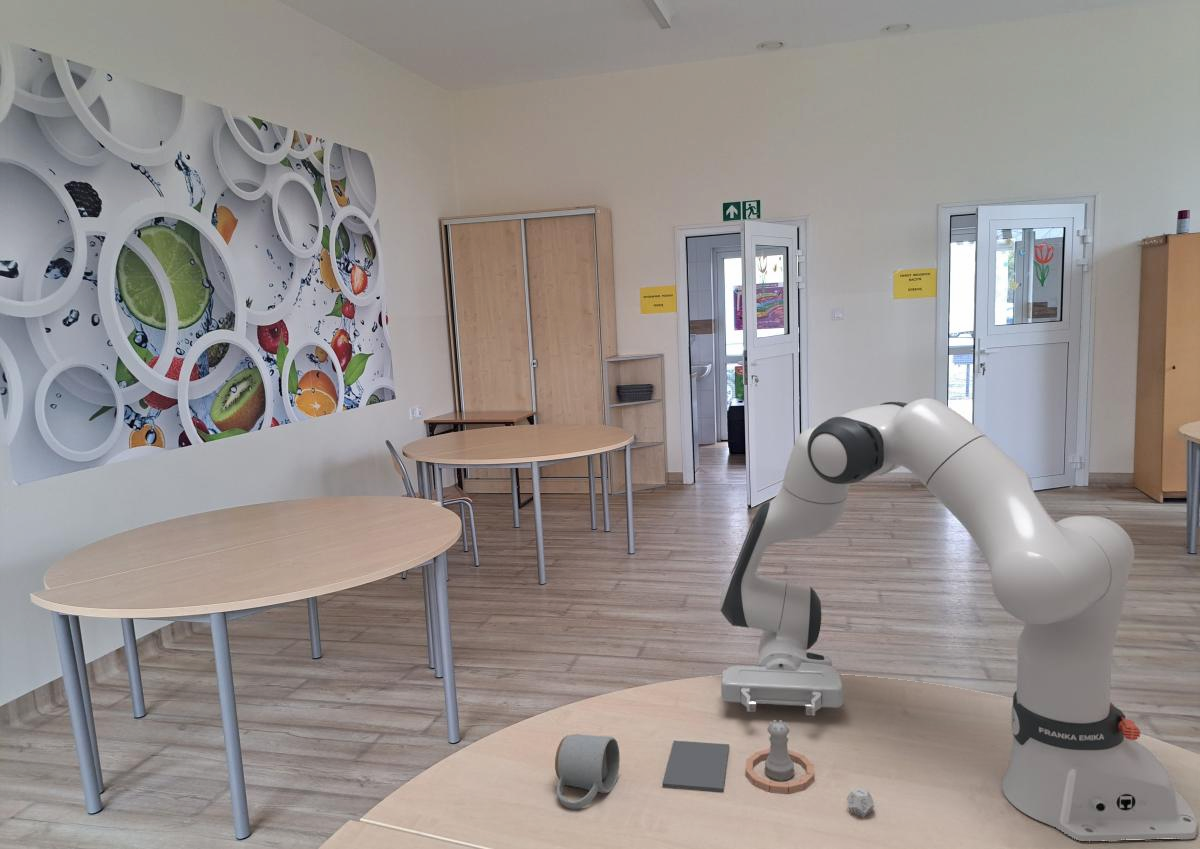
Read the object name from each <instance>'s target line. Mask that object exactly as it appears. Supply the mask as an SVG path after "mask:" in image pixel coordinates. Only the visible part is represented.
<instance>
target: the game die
mask: <svg viewBox="0 0 1200 849" xmlns="http://www.w3.org/2000/svg"><path fill="white" fill-rule="evenodd" d="M846 801H847V805H848V808H849V810H850V811H851V813H852V814H854V815H857V816H859V817H862V818H863V817H866V816H867V815H868V814H870V813H871V812H872V810H873V809H874V807H875V803H874V800H873V796H872V794H870V792H869V791H868V789H865V788H862V787H860V786H859V787H858V786H857V787H856V788H854V789H852V790H851V791H850V792H849V794H848V795H847V797H846Z"/></svg>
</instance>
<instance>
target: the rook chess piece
mask: <svg viewBox="0 0 1200 849" xmlns="http://www.w3.org/2000/svg"><path fill="white" fill-rule="evenodd" d="M767 732H768V734H769V738H768V739H769V742H770V748H769V749H770V753H769V755H768V758H767V759H766V760H764V761H765V762H764V766H765V767H764V772H765V773H766V775H767V776H768V777H769V778H770V779H773V780H775V781H782V782H783V781H787V780H790V779H791V778H792V777H793V776H794V775H795V768H794V767H795V764H794V763H795V762H794V761H792V760H791V757H790V756H789V754H788V750H789V749H788V743H789V742H788V741H789V738H788V737H787V735H789V733H790V728H789V727H788V726H787V722H786V721H784V722H783V720H781V719H779V721H778V722H777V719H774V720H772V721H770V722H769V726H768V727H767Z"/></svg>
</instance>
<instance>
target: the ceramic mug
mask: <svg viewBox="0 0 1200 849" xmlns="http://www.w3.org/2000/svg"><path fill="white" fill-rule="evenodd" d="M557 746H558V747H557V749H556V754H555V757H554V769H555V770H554V771H555V773H556V777H557V778H558V783H557V786H556V792H557V797H558V799H559V801H560V803H561V804H562V805H563V806H564V807H565V808H567V809H571V810H580V809H582V808H584V807H587V806H588V805H589V804H591V802H593V800H594V798H595V797H596V795H597V794H598V792H599V793H604V794H608V793H610V792H611V791H612V790H613V789H614V787H615V785H616V782H617V779H618V775H619V770H620V747H619V743H618V741H617V740H616V738H615V737H613V736H607V735H606V736H604V735H602V736H601V735H592V734H591V735H588V734H579V733H578V734H575V733H574V734H569V735H566V736H563V737H562V739H561V741H560V742H559V744H558V745H557ZM565 785H567V786H570V787H575V788H581V789H585V790H588V791H589V792H588V793H587V794H586V795H585V796H583V797H582V798H579V799H578V800H575V801H570V800H569V799H568V798H565V797H564V796H563V795H562V794H563V789H564V786H565Z"/></svg>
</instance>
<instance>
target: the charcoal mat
mask: <svg viewBox="0 0 1200 849" xmlns="http://www.w3.org/2000/svg"><path fill="white" fill-rule="evenodd" d="M729 752H730V744H727V743H714V742H703V741H702V742H700V741H697V742H696V741H688V740H687V741H685V740H673V743H672V744H671V750H670V754H669V756H668V757H669V758H668V761H667V763H666V768H665V772H664V777H663V778H662V779H663V780H662V783H661V784H662V788H669V789H679V790H680V789H681V790H691V791H704V792H715V793H716V792H717V793H724V789H725V783H726V776H727V768H728V760H729Z"/></svg>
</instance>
